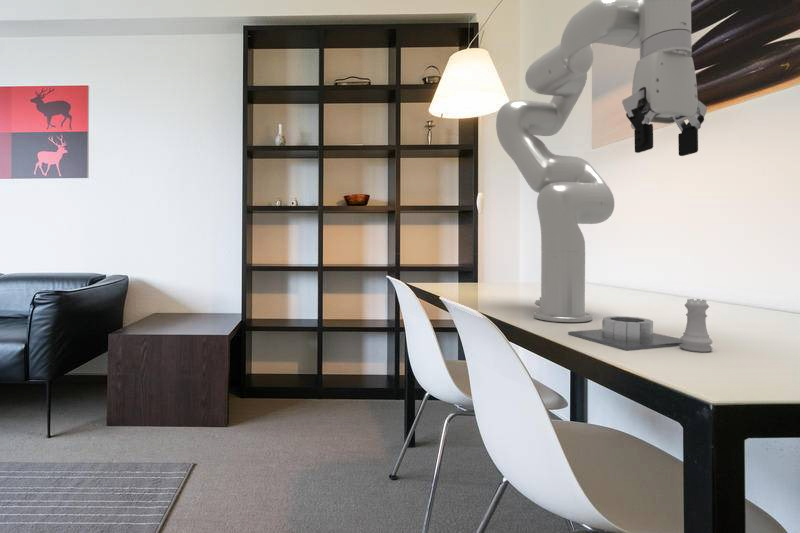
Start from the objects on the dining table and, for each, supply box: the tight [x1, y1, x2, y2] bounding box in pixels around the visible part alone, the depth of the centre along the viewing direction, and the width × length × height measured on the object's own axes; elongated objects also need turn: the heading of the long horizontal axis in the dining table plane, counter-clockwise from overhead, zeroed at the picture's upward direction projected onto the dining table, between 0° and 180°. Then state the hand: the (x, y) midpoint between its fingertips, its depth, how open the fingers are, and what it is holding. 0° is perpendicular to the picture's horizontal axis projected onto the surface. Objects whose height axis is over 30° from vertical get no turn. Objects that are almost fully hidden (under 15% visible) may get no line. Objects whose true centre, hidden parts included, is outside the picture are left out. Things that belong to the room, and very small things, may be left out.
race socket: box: [567, 315, 682, 351], centre depth 77 cm, size 14×14×4 cm
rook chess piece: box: [679, 298, 713, 353], centre depth 69 cm, size 4×4×8 cm
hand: (666, 152), depth 74 cm, fingers open, 9 cm apart
